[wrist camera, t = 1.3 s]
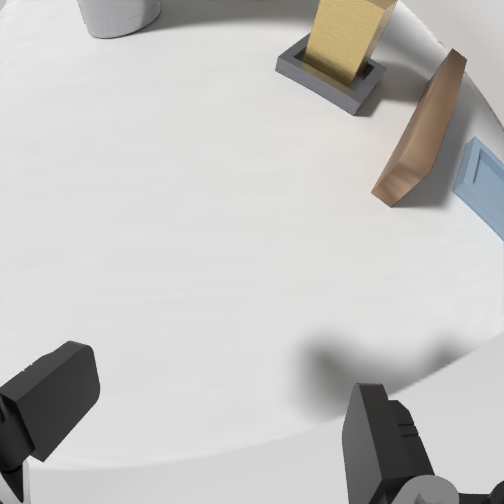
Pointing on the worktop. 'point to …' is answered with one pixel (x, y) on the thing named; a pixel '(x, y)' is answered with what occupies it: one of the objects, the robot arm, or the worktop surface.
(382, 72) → the grey square flat frame
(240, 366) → the worktop surface
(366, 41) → the block
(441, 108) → the board
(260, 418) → the worktop surface
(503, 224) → the socket
